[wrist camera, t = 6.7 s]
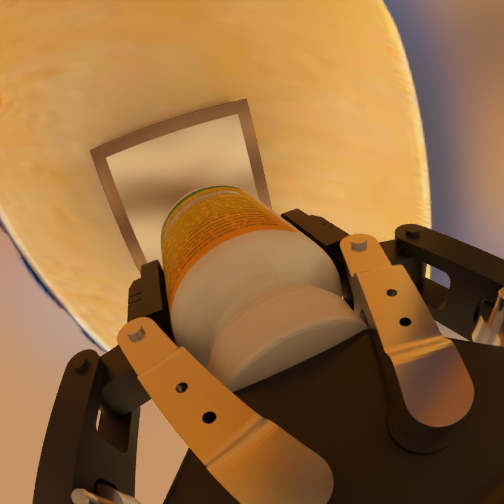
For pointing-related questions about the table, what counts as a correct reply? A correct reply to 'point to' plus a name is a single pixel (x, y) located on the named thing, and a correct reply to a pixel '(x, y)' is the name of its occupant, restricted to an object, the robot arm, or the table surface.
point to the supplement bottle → (248, 287)
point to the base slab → (176, 169)
